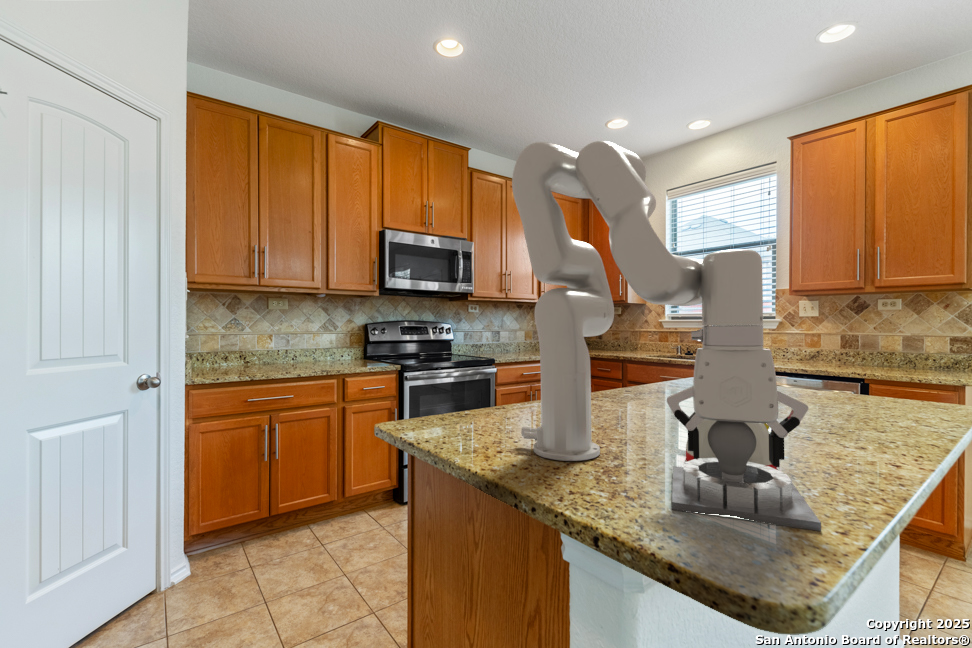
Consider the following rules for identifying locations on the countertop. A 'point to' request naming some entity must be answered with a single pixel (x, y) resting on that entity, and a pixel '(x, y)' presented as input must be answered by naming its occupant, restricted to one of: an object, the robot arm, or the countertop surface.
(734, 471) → the light bulb
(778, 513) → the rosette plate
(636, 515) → the countertop surface
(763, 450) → the kitchen timer
